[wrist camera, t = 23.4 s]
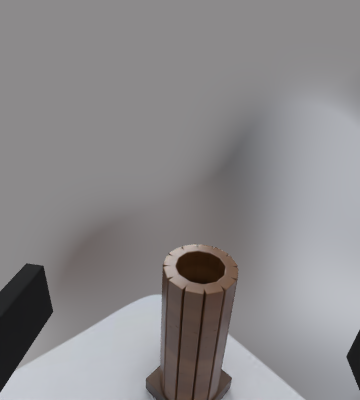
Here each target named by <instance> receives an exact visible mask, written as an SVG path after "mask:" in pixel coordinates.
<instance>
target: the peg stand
mask: <svg viewBox="0 0 360 400" xmlns="http://www.w3.org/2000/svg"><path fill="white" fill-rule="evenodd" d="M231 380H232V378H231V377H230V376H229V375H228V374H227V373H225V372H224V371H223V370H222V369H221V374H220V379H219V385H218V390H217V392H216V395H215V397H214V398H213V399H212V400H220V399H221V398H222V397H223V396H224V394H225V393H226V392H227V390H228V389H229V388H230V385H231ZM146 388H147V389H148V391H149V392H150V393H151V394H152V395H153V396H154V397H155V398H156V399H157V400H168V399H167V398H166V397H165V396H164V393H163V391H162V387H161V383H160V366H159V367H158V368H157V369H156V370H155V371H154V372H153V373H152V374H151V375H150V376H149V377H147V378H146Z"/></svg>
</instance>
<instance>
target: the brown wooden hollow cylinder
mask: <svg viewBox="0 0 360 400" xmlns="http://www.w3.org/2000/svg"><path fill="white" fill-rule="evenodd" d="M237 278H238V268H237V264H236V263H235V261H234V260H233V259H232V257H231V256H228V253H226V252H224V251H221V250H220V249H218V248H216V247H215V248H214V249H213V246H207V245H201V244H199V245H198V247H197V245H196V244H192V245H186V246H182V248H181V247H178V248H177V249H175V250H173V251H172V252H170V253H169V255H167V257H166V259H165V261H164V263H163V279H162V318H161V357H160V383H161V387H162V391H163V393H164V396H165V397H166V398H167V399H168V400H212V399H213V398H214V397H215V395H216V392H217V390H218V385H219V379H220V374H221V368H222V363H223V357H224V352H225V346H226V340H227V335H228V329H229V324H230V318H231V313H232V306H233V302H234V296H235V290H236V285H237Z"/></svg>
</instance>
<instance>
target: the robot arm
mask: <svg viewBox="0 0 360 400" xmlns="http://www.w3.org/2000/svg"><path fill="white" fill-rule="evenodd" d="M52 313H53V309H52V304H51V300H50V295H49V290H48V285H47V281H46V276H45V271H44V266H40V265H33V264H26V265H25V266H24V267H23V268H22V269H21V270H20V271H19V272H18V273H17V274H16V275H15V276H14V277H13V278H12V280H11V281H10V282H9V283H8V284H7V285H6V286H5V287H4V288H3V289H2V290H1V291H0V392H1V390H2V389H3V387H4V386H5V384H6V383H7V381H8V380H9V378H10V377H11V375H12V374H13V372H14V371H15V369H16V368H17V366H18V365H19V363H20V362H21V360H22V359H23V357H24V355H25V354H26V352H27V351H28V349H29V348H30V346H31V345H32V343H33V342H34V340H35V338H36V337H37V336H38V334H39V333H40V331H41V329H42V328H43V327H44V325H45V323H46V322H47V320H48V319H49V317H50V316H51V314H52ZM347 359H348V362H349V364H350V367H351V369H352V372H353V375H354V377H355V380H356V382H357V385H358V387H359V390H360V330H359V332H358V334H357V336H356V339H355V340H354V342H353V344H352V346H351V349H350V350H349V352H348V354H347Z"/></svg>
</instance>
